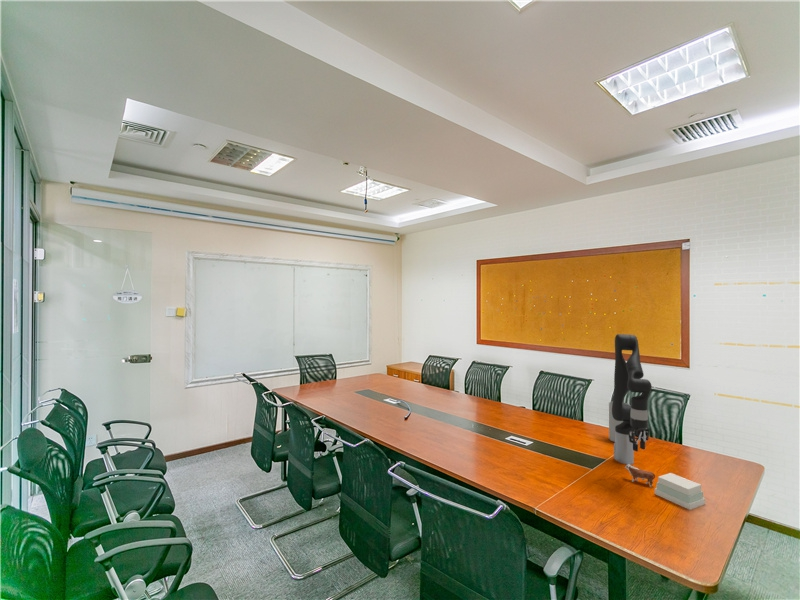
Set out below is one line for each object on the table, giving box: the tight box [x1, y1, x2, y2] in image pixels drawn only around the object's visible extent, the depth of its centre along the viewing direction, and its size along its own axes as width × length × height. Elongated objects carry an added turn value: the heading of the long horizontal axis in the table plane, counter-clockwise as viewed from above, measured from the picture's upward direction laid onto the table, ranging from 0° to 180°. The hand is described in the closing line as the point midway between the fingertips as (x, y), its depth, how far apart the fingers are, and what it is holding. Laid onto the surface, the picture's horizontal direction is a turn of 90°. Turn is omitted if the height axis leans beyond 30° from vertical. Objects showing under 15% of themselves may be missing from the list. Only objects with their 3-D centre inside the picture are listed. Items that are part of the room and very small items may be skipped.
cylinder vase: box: [608, 401, 631, 443], centre depth 245 cm, size 12×12×25 cm
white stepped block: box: [654, 472, 706, 511], centre depth 171 cm, size 15×12×9 cm
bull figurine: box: [624, 464, 656, 488], centre depth 187 cm, size 4×13×8 cm, turn 43°
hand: (639, 449), depth 188 cm, fingers open, 5 cm apart
